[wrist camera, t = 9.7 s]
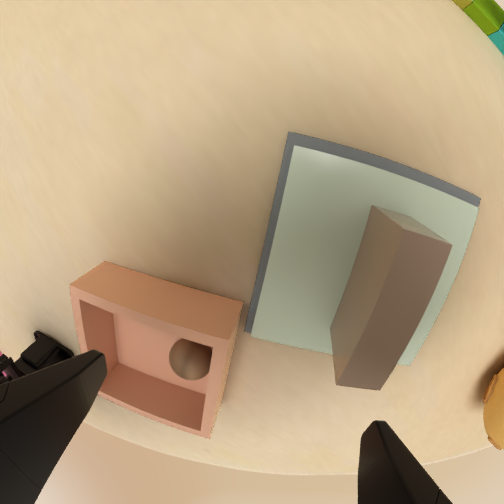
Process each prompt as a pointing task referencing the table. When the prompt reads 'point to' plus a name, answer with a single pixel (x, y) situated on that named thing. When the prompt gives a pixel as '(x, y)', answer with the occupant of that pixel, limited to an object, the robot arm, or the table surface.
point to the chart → (486, 18)
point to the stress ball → (495, 410)
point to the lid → (359, 265)
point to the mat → (348, 154)
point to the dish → (155, 343)
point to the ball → (190, 359)
